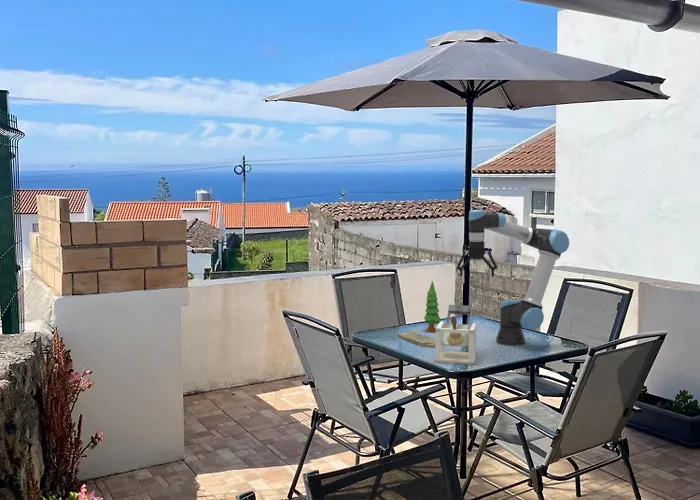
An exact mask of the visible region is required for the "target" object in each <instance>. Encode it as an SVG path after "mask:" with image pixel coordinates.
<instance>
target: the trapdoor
mask: <svg viewBox="0 0 700 500" xmlns="http://www.w3.org/2000/svg"><path fill="white" fill-rule="evenodd" d="M471 312H472V306H471V305H463V304H462V305H459V304H448V310H447V316H446V323H444V328H449V329H453V325H452V323H450V322H451V321H450V320H451V315H464V316H465V315H467V317H466V318H467V319H466V324H458V323H457V324H456V328H457V329H466V330H470V328H471V326H472V324H470V323H471V322H470V321H471ZM449 334H450V332H443V338H442V345H444V346H450V347H463V348H465V347H466V348H469V334H467V333H462V334H463V335H464V341H463V342H462V343H461V344H459V345H452V344H450V343H449V342H448V340H447V336H448V335H449Z"/></svg>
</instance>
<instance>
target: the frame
mask: <svg viewBox="0 0 700 500" xmlns="http://www.w3.org/2000/svg"><path fill="white" fill-rule="evenodd" d="M439 322H440V323H438V324H437V326H436V327H435V329H436V332H435V336H434V338H435V348H434V349H435V350H434V352H435V353H434V358H433V361H434V362H438V363H451V364H452V363H453V364H462V365H464V364H465V365H475V361H476V358H477V357H478V356H477V355H478V353H477V352H476V351H477V323H475V322H474V323H473V322H472V324H471V328H470V330H466V329H449V328H444V324H445V321H439ZM443 332H450V333H467V334H469V347H468V351H454V350H453V351H452V350H444V349H445V345H442V338H443Z"/></svg>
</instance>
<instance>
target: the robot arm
mask: <svg viewBox="0 0 700 500" xmlns="http://www.w3.org/2000/svg"><path fill="white" fill-rule="evenodd" d="M506 218H507V217H506V216H505V214H504V213H503V212H485V210H484V209H471V210H469V213H468V229H469V231H468V240H469V242H468V246H469V247H468V250H465V249H464V250H462V255H461V257H460V259H459V261H458V263H457V265H456V266H455V267H456V269H457V270H459V276H460V277H462V278H461V280H462V284H465V269H464V268H465V267H466V266H467V265H468V264H469V263H470V261H471V260H478V261H479V260H482V261H483V262H484V263H485V264H486V265H487V267H489V283H490V284H492V282H493V281H492V279H493V277H494V276H495V270H498V265H497V263H496V261H495V259H494V257H493V256H492V250H485V241H484V240H485V230H487V231H491V232H494V233H496V234H499V235H503V236H506V237H509V238H512V239H516V240H517V241H520V242H521V243H522V244H523V245H526V246H529V247H531V248H534V249H536V250H537V251H538V255H539V257H538V260H537V262H536V265H535V268H534V270H533V274H532V277H531V280H530V282H529V285H528V289H527V290H526V291H527V292H526V293H525V294H526V295H525V297H524V298H521V300H520V299H519V300H518V299H513V300H512V299H510V300H503V301H501V302H500V306H499V310H500V311H499V314H500V315H499V317H500V318H499V322H500V323H499V330H498V331H497V335H496V339H495V341H496V343H498V344H499V345H500V344H501V345H505V346H506V345H507V346H522V345H525V344H526V338H525V335H524V332H523V328H524V329H526V330H536V329H538V328H539V327H540V326H542V324H543V322H544V319H545V315H544V311H543V307H544V306H543V305H542V302H543V299H544V296H545V292H546V290H547V287H548V284H549V281H550V278H551V277H552V276H551V275H552V273H553V269H554V266H555V264H556V261H557V260H559V259H560V258H561V255H562V254H563V253H564V254H565V253H566V251H568V249H569V246H570V238H569V237H568V234H567V233H566V232H565V231H563V230H560V229H559V230H558V229H552V228H551V229H550V228H537V227H532V226H523V225H520V224H517V223H513V222H510V221H507V219H506ZM467 255H469V257H468V258H467V260H465V262H464V263H463V261H464V258H465V257H466V256H467ZM485 255H487V256H488V257H489V259H490V261H491V263H490V262H489V261H488V260H487V258H486V257H485ZM462 263H463V264H462ZM461 264H462V265H461Z"/></svg>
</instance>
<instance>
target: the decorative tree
mask: <svg viewBox="0 0 700 500" xmlns="http://www.w3.org/2000/svg"><path fill="white" fill-rule="evenodd" d="M426 295H427V297H426V300H425V301H426V303H425V304H426V305H425V307H426V309H425V315H424V318H423V319H424V320H425V321H424V324H428V327H427V328H426V332H427V333H436V327H435V325H438V324H439V323H440V322H441V321H440V320H441V317H440V315H439V313H440V310H439V308H438V306H440V305H439V303H438V297H437V296H438V295H437V292H436V289H435V285H434V281H433V280H431V284H430V286H429V289H428V291H427V294H426Z"/></svg>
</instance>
